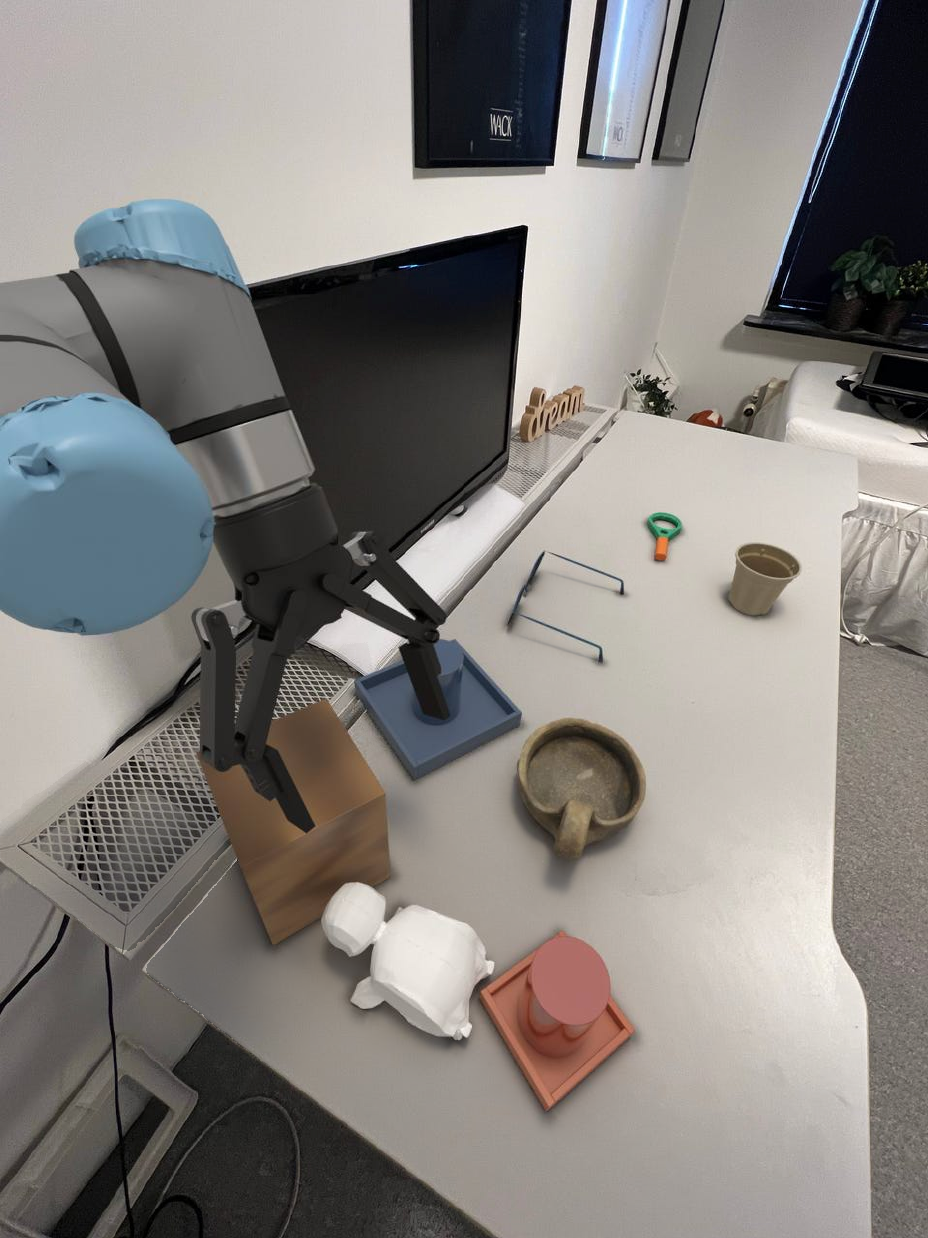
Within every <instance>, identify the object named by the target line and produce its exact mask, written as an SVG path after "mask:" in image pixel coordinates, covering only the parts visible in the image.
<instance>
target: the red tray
mask: <svg viewBox="0 0 928 1238" xmlns="http://www.w3.org/2000/svg"><path fill="white" fill-rule="evenodd" d="M561 936H567V934H566V933H565V931H564V930H561V931H560V932H558V933H557V934H555V935H554V936H553V937H552V938H555V937H561ZM539 948H540V946H539V947H538V948H536V950H534V951H532V953H530V954H529V955H527V956H526V957H524V958H523V959H522V960H520V961H519V962H518V963H516V964H515V965H513V967H511V968H510V969H508V970H507V971H505V972H504V973H503V974H502V975H500V976H498V978H497V979H495V980H494V981H492V982H491V983H490V984H488V985H486V987H484V988H482V989H481V990H480V993H479V996H478V998H479V1000H480V1002H481V1003H482V1005H483V1008H484V1009H485V1010H486V1012H487V1014H488V1015H489V1017H490V1019H491V1020H492V1023H493V1024H494V1025H495V1027H496V1030H497V1031H498V1032H499V1034H500V1036H501V1037H502V1039H503V1041H504V1043H505V1044H506V1046H507V1048H508V1050H509V1051H510V1053H511V1054H512V1056H513V1058H514V1059H515V1061H516V1063H517V1065H518V1067H519V1068H520V1070H521V1072H522V1074H523V1075H524V1077H525V1078H526V1080H527V1082H528V1083H529V1085H530V1087H531V1088H532V1091H533V1092H534V1093H535V1096H536V1097H537V1099H538V1101H539V1103H540V1104H541V1106H542V1107H543V1109H544V1111H545V1113H547V1112H548V1111H549V1110H550V1109H552V1107H554V1106H555V1105H556V1104H557V1103H558V1102H559V1101H561V1100H562V1099H563V1098H564V1097H565V1096H566V1095H567V1094H568V1093H570V1092H571V1090H573V1089H574V1088H575V1087H576V1086H577V1085H578V1084H579V1083H580V1082H582V1081H583V1079H586V1077H587V1076H588V1075H590V1073H591V1072H592V1071H593V1070H594V1069H596V1068H597V1067H598V1066H599V1065H600V1064H602V1063H603V1061H604V1060H605V1059H607V1058H608V1057H609V1056H610V1055H611V1054H613V1053H614V1052H615V1051H616V1050H617V1049H618V1048H619V1047H620V1046H621V1045H622V1044H623V1043H625V1042H626V1041H627V1040H628V1039H629V1038H631V1036H632V1035H633V1034H634V1033H635V1031H636V1029H635V1027H634V1026H633V1025H632V1023H631V1022H630V1021H629V1019H628V1017H627V1016H626V1015H625V1013H623V1011H622V1009H621V1008H620V1006H619V1005H618V1004H617V1003H616V1001H615V1000H614V999H613V997H612V996H611V995H610V998H609V1002H608V1005H607V1007H606V1009H605V1010H604V1012H603V1013H602V1015H601V1016H600V1018H599V1019H598V1021H597V1022H596V1024H595V1025H594V1027H593V1028H592V1030H591V1031H590V1033H589V1034H588V1036H587V1037H586V1039H585V1040H584V1042H583V1043H582V1045H581V1046H580V1048H579V1049H578V1050H577V1051H576V1052H574V1053H573V1054H571V1055H569V1056H567V1057H564V1058H550V1057H547V1056H544V1055H542V1054H540V1053H538V1052H537V1051H536V1050H534V1049H533V1048H532V1047H531V1046H530V1045H529V1044H528V1042H527V1041H526V1039H525V1038H524V1036H523V1034H522V1032H521V1030H520V1027H519V1023H518V1018H517V1006H518V1001H519V997H520V995H521V992H522V989H523V986H524V983H525V980H526V977H527V974H528V971H529V969H530V966H531V963H532V960H533V958H534V955H535V953H536V952H537V950H538V949H539Z"/></svg>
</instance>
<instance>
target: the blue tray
mask: <svg viewBox="0 0 928 1238" xmlns="http://www.w3.org/2000/svg"><path fill="white" fill-rule="evenodd" d="M450 641H451V642H453V643H455V644H456V645H457V646H458V647H459V648H460V649H461V651H462V652H463V656H464V660H463V674H462V687H461V701H460V711H459V713H458V715H457V716H456V718H455V719H454V720H452V721H451V722H449V723H446V724H443V725H430V724H427V723H424V722H422V721H421V720H419V719H418V718H417V717H416V715H415V714H414V712H413V707H412V683H411V680H410V677H409V675H408V672H407V669H406V667H405V664H404V661H403V659H402V660H400V661H398V662H395V663H392V664H391V665H388V666H386V667H383V668H380V669H378V670H376V671H374V672H371V673H368V674H366V675H363V676H361V677H359V678H357V679H354V680H353V681H354V682H353V683H354V693H355V695H356V697H357V698H358V700H359V702H360V703H361V704H362V705H363V707H364V708H365V710H366V711H367V713H368V714H369V716H370V717H371V719H372V720H373V722H374V723H375V725H376V727H377V728H378V730H379V731H380V732H381V733H382V735H383V737H384V738H385V740H386V741H387V743H388V744H389V746H390V747H391V749H392V750H393V752H394V754H396V756H397V758H398V759H399V761H400V762H401V763H402V765H403V767H404V768H405V770H406V771H407V772H408V774H409V775H410V777H411V779H412V780H413V781H416V780H417V779H419V778H421V777H423V776H425V775H427V774H429V773H431V772H433V771H434V770H436V769H439V768H440V767H443V766H444V765H447V764H448V763H451V762H452V761H454V760H455V759H458V758H460V757H461V756H463V755H465V754H468V753H470V752H472V751H473V750H475V749H478V748H479V747H481V746H483V745H485V744H487V743H489V742H491V741H492V740H495V739H497V738H498V737H500V736H503V735H505V734H506V733H508V732H510V731H512V730H514V729H515V728H518V727H519V726H520V725H521V722H522V721H521V720H522V715H523V712H522V711H521V710H520V709H519V708H518V706H517V705H516V704H515V703H514V702H513V701H512V699H510V698H509V696H508V695H507V694H506V693H505V692H504V691H503V690H502V689H501V688H500V686H498V685H497V683H496V682H495V681H494V680H493V679H492V678H491V676H490V675H488V673H487V672H486V671H485V670H484V669H483V668H482V667H481V666H480V664H479V663H478V662H476V660H475V659H474V658H473V657H472V656H471V655H470V654H469V652H468V651H467V650H466V648H464V647H463V646H462V645H461V644H460V643H459V641H458V640H457V639H456V638H454V639H451V640H450Z"/></svg>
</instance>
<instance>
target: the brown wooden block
mask: <svg viewBox="0 0 928 1238" xmlns="http://www.w3.org/2000/svg"><path fill="white" fill-rule="evenodd" d="M266 744H267V745H269V746H271V747H273V748H275V749H277V750H278V752H279V754H280V756H281V758H282V760H283V762H284V764H285V766H286V768H287V770H288V772H289V774H290V776H291V778H292V780H293V782H294V784H295V786H296V788H297V790H298V792H299V794H300V796H301V798H302V800H303V802H304V804H305V806H306V808H307V810H308V812H309V814H310V816H311V818H312V820H313V822H314V824H315V827H314V828H313V829H312V830H310V831H309V832H308V833H307V834H306V833H305V832H304V831H302V830H301V829H299V828H298V827H296V826H295V825H293V824H292V823H291V822H289V821H288V820H287V818H286V816H285V815H284V813H283V811H282V809H281V807H280V805H279V803H278V801H277V799H276V797H275V798H274V799H273V800H271V801H269V800H267V799H266V798H264V797H263V796H261V795H260V794H258V793H257V792H255V791H254V789H253V787H252V785H251V783H250V781H249V779H248V777H247V776H246V774H245V772H244V770H243V768H242V766H241V764H239V765H235V766H232V767H231V768H230V769H229V770H228V771H225V772H220V771H217V770H216V769H214V768H213V767H211V766H210V765H209V764H207V763H206V762H204V761H203V760H202V759H201V758H200V750H199V751H197V752H196V753H195V754H196V756H197V759H198V762H199V765H200V767H201V770H202V772H203V775H204V777H205V780H206V782H207V785H208V788H209V790H210V793H211V796H212V798H213V801H214V802H215V805H216V808H217V811H218V813H219V816H220V818H221V822H222V823H223V826H224V829H225V831H226V834H227V836H228V839H229V842H230V844H231V847H232V849H233V852H234V855H235V857H236V860H237V862H238V865H239V867H240V870H241V873H242V875H243V877H244V880H245V882H246V884H247V886H248V889H249V891H250V894H251V897H252V898H253V901H254V903H255V906H256V908H257V910H258V913H259V915H260V916H259V917H261V920H262V922H263V925H264V927H265V930H266V932H267V934H268V937H269V939H270V942H271V945H272V946H275V945H277V944H279V943H280V942H282V941H284V940H285V939H287V938H289V937H291V936H293V935H295V933H297V932H300V931H301V930H302V929H304V928H306V927H307V926H309V925H311V924H313V923H314V922H316V921H318V920H319V919H322V916H323V913H324V910H325V907H326V905H327V904H328V902H329V900H330V899H331V898H332V896H333V895H334V894H335V893H336V892H337V891H338V890H339V889H340V888H341V887H342V886H343V885H344V884H346V883H355V882H359V883H362V884H366V885H369V886H370V887H372V888H374V887H375V886H377V885H379V884H380V883H382V882H384V881H385V880H388V879H389V878H390V877H391V876H392V873H391V860H390V859H391V858H390V845H389V844H390V843H389V842H390V841H389V828H388V827H389V826H388V812H387V811H388V810H387V799H386V798H387V796H386V791H385V790H384V788H383V786H382V785H381V783H380V782H379V780H378V779H377V777H376V775H375V774H374V772H373V771H372V769H371V767H370V765H369V764H368V763H367V761H366V759H365V757H364V756H363V754H362V752H361V751H360V750H359V748H358V747H357V745H356V743H355V742H354V740H353V739H352V737H351V734H350V733H349V732H348V730H347V729H346V727H345V726H344V724H343V722H342V721H341V719H340V717H339V716H338V714H337V712H336V711H335V709H334V708H333V707H332V705H331V703H330V702H329V700H328V698H323V699H321V700H319V701H316V702H314V703H312V704H309V705H306V706H304V707H302V708H299V709H296V710H295V711H292V712H289V713H288V714H285V715H283V716H280V717H278V718H276V719H272V721H271V725H270V729H269V733H268V737H267V741H266Z"/></svg>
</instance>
